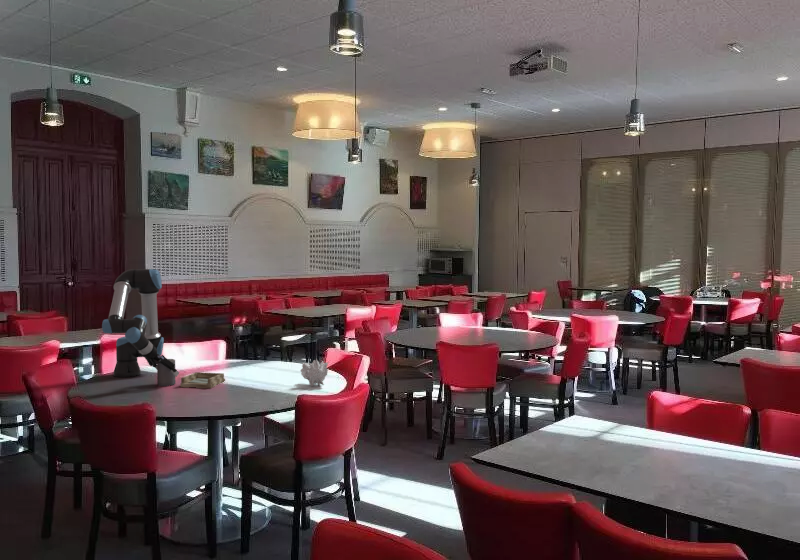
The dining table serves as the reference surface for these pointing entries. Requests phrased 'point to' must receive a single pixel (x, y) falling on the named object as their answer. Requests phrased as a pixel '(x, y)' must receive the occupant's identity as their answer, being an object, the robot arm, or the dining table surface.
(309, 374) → the grey spiky coral
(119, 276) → the robot arm
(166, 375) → the pillar candle
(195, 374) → the wooden tray
